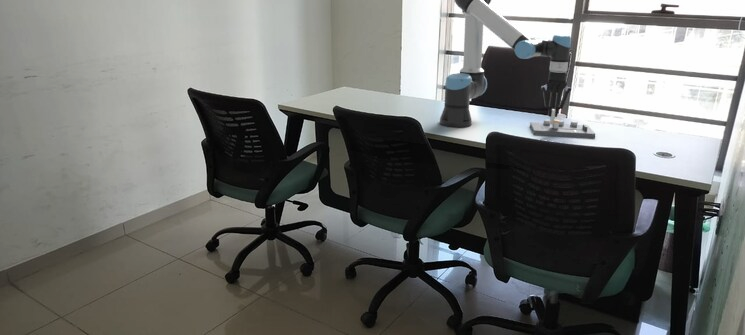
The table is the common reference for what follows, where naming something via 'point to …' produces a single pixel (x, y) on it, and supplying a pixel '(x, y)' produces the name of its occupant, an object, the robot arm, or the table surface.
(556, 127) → the fader
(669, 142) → the table surface
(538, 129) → the console
